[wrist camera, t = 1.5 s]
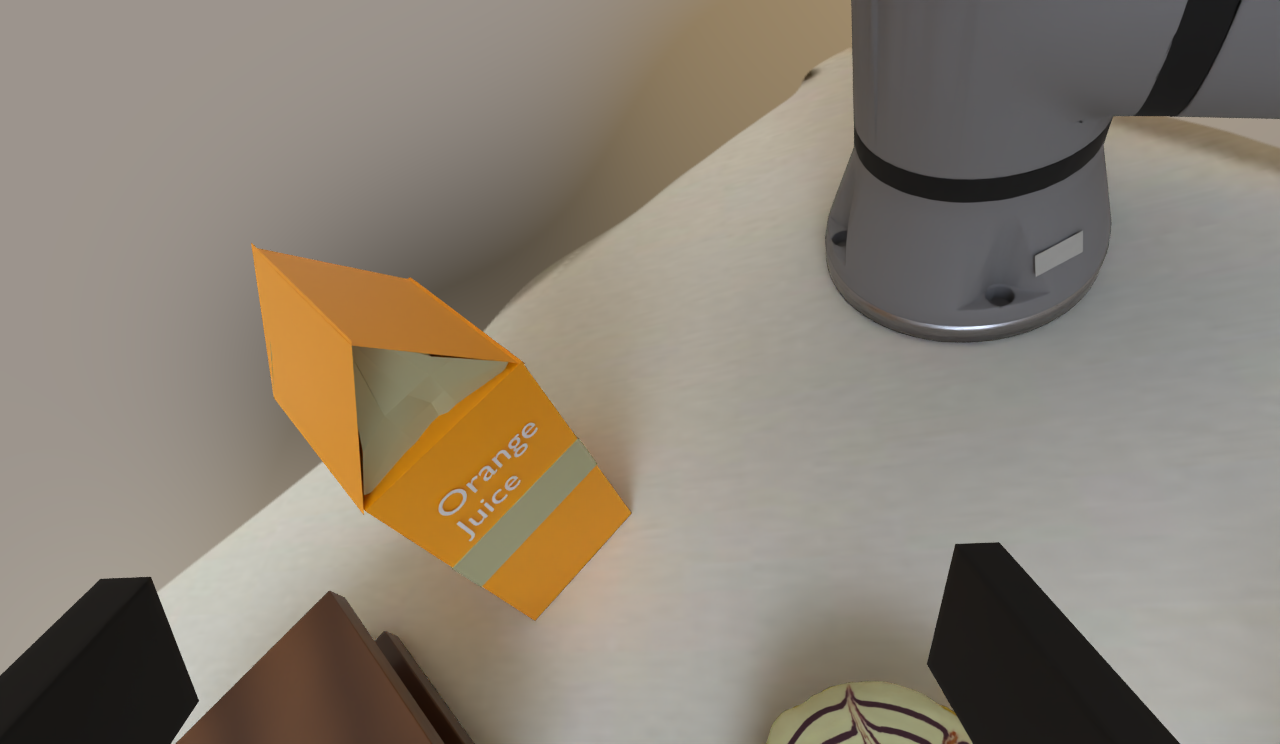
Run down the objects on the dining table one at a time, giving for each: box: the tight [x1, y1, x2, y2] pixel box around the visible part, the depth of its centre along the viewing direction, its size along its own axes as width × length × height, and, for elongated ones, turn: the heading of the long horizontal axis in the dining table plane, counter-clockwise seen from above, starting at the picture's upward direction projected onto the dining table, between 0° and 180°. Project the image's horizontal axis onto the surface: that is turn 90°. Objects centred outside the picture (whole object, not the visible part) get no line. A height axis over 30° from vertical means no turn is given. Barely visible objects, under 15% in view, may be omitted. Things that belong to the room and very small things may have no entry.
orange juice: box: [251, 243, 631, 620], centre depth 29 cm, size 8×9×20 cm
